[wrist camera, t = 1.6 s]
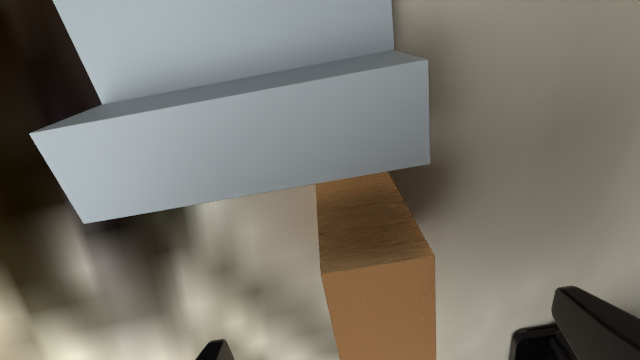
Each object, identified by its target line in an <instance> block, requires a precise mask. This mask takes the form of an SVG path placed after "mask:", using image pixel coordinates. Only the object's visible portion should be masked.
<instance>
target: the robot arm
mask: <svg viewBox="0 0 640 360" xmlns="http://www.w3.org/2000/svg"><path fill="white" fill-rule="evenodd" d="M551 310H552V315H553V318H554V320H555V321H556V323H557V325H558V326H559V327H553V328H547V329H540V330H533V331H527V332H521V333H518V334H516V335H515V336H514V337H513V339H512V345H511V352H510V359H509V360H640V319H639V318H637V317H635V316H633V315H631V314H629V313H627V312H625V311H623V310H621V309H619V308H617V307H615V306H613V305H611V304H610V303H608V302H606V301H604V300H602V299H600V298H598V297H596V296H594V295H592V294H590V293H588V292H586V291H584V290H582V289H580V288H578V287H575V286H566V287H560V288H557V289H556V290H555V294H554V299H553V304H552V309H551ZM196 360H234V357H233V355H232V353H231V350H230V348H229V346H228V344H227V342H226V340H224V339H219V340H213V341H210V342H209V343H208V344H207V345H206V346H205V348H204V349H203V350H202V352H201V353H200V354H199V356H198V357H197V358H196Z"/></svg>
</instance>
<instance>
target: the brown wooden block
mask: <svg viewBox="0 0 640 360" xmlns="http://www.w3.org/2000/svg"><path fill="white" fill-rule="evenodd" d="M316 201H317V218H318V235H319V252H320V270H321V278H322V282H323V286H324V291H325V295H326V300H327V304H328V309H329V313H330V317H331V322H332V326H333V331H334V335H335V340H336V344H337V348H338V353H339V357H340V360H436V311H435V256H434V254H433V252H432V250H431V249H430V247H429V245H428V243H427V241H426V240H425V238H424V236H423V234H422V232H421V231H420V229H419V227H418V225H417V223H416V221H415V220H414V218H413V216H412V214H411V212H410V211H409V209H408V207H407V205H406V203H405V202H404V200H403V198H402V196H401V194H400V193H399V191H398V189H397V187H396V185H395V184H394V182H393V180H392V178H391V176H390V175H389V173H388V171H387V172H381V173H375V174H369V175H363V176H358V177H352V178H346V179H340V180H334V181H329V182H323V183H317V184H316Z"/></svg>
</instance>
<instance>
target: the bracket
mask: <svg viewBox="0 0 640 360" xmlns="http://www.w3.org/2000/svg"><path fill="white" fill-rule="evenodd" d="M53 2H54V4H55V6H56V8H57V10H58V12H59V14H60V16H61V19H62V21H63V23H64V25H65V27H66V29H67V31H68V33H69V35H70V37H71V39H72V42H73V44H74V46H75V48H76V50H77V52H78V54H79V56H80V58H81V60H82V62H83V65H84V67H85V69H86V71H87V73H88V75H89V77H90V79H91V81H92V83H93V85H94V87H95V90H96V92H97V94H98V96H99V98H100V100H101V102H102V104H103V105H100V106H98V107H95V108H93V109H90V110H88V111H85V112H82V113H80V114H77V115H75V116H72V117H70V118H67V119H65V120H62V121H60V122H57V123H55V124H52V125H49V126H47V127H44V128H42V129H39V130H37V131H34V132H32V133H29V134H30V136H31V138H32V139H33V141H34V143H35V144H36V146H37V147H38V149H39V151H40V152H41V154H42V156H43V157H44V159H45V161H46V162H47V164H48V166H49V167H50V169H51V171H52V172H53V174H54V175H55V177H56V179H57V180H58V182H59V184H60V185H61V187H62V189H63V190H64V192H65V194H66V195H67V197H68V199H69V200H70V202H71V203H72V205H73V207H74V208H75V210H76V212H77V213H78V215H79V217H80V218H81V220H82V222H83V223H84V224H86V223H91V222H97V221H103V220H109V219H114V218H120V217H126V216H132V215H138V214H143V213H149V212H155V211H161V210H167V209H172V208H178V207H184V206H190V205H195V204H201V203H207V202H213V201H219V200H224V199H230V198H236V197H242V196H248V195H253V194H259V193H265V192H271V191H277V190H282V189H288V188H294V187H300V186H305V185H311V184H317V183H323V182H329V181H334V180H340V179H346V178H352V177H358V176H363V175H369V174H375V173H381V172H387V171H392V170H398V169H404V168H410V167H415V166H421V165H427V164H430V126H429V75H428V59H426V58H422V57H419V56H415V55H412V54H408V53H405V52H401V51H398V50H394V34H393V18H392V3H391V0H53Z"/></svg>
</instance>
